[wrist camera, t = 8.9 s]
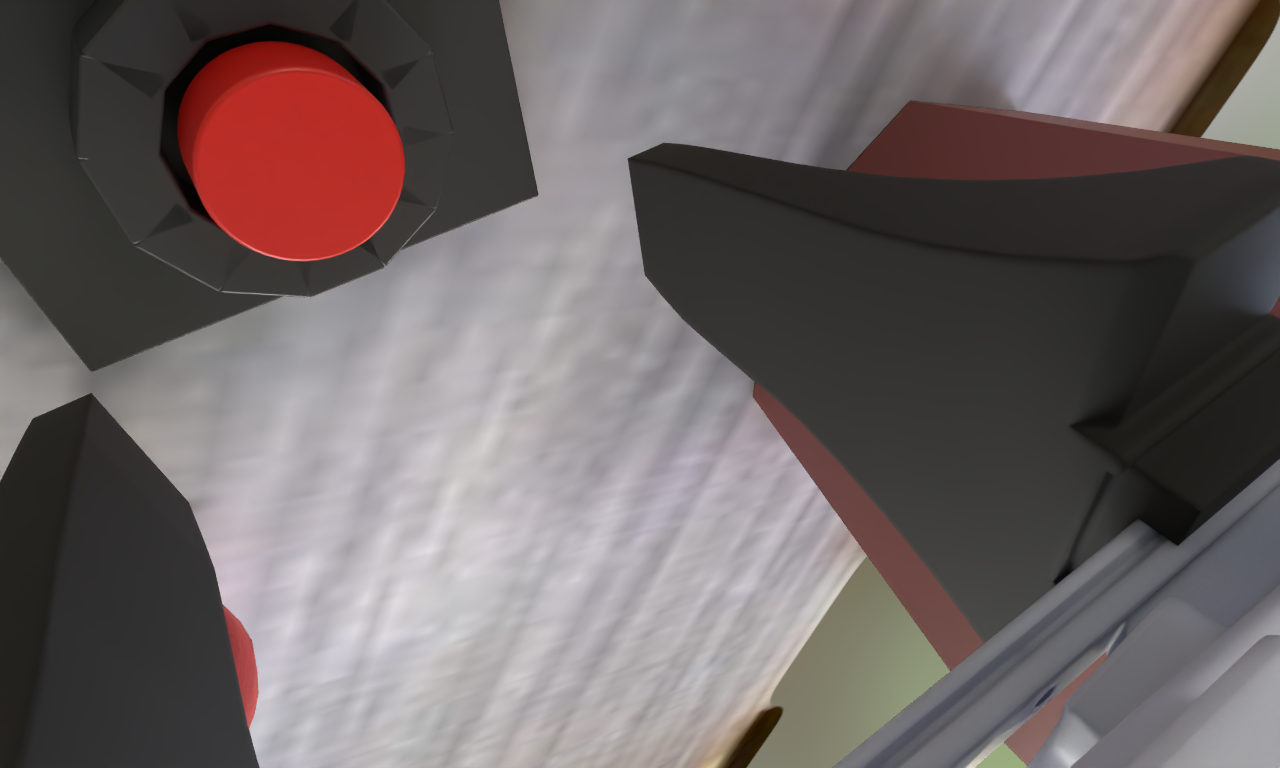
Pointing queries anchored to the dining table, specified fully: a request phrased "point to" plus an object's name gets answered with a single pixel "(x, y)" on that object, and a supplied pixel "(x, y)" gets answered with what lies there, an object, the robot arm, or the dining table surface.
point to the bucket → (978, 151)
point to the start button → (289, 151)
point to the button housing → (160, 183)
